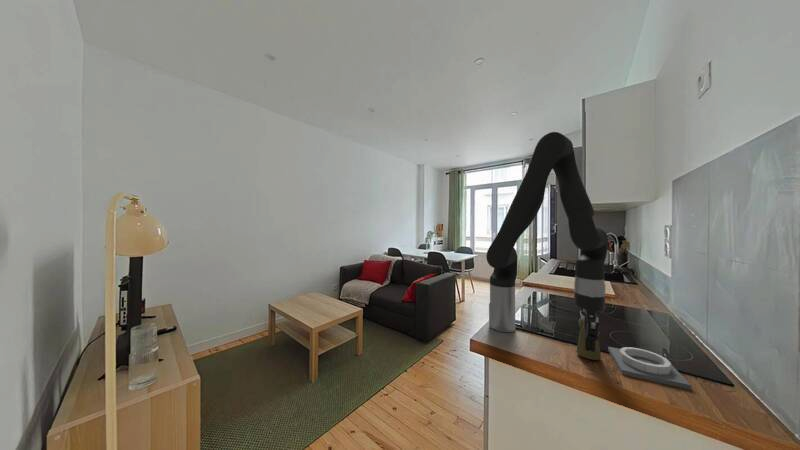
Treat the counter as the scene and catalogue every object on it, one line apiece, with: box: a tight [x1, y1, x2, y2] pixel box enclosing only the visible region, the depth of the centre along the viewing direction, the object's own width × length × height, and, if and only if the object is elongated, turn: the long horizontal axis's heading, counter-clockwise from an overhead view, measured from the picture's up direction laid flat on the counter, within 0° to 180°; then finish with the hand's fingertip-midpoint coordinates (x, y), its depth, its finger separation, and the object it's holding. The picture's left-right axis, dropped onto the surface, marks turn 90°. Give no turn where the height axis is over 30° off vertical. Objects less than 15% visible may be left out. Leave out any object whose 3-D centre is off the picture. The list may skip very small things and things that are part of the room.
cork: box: [576, 317, 602, 361], centre depth 74 cm, size 6×6×11 cm
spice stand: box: [607, 346, 692, 391], centre depth 69 cm, size 13×14×3 cm
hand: (588, 346), depth 74 cm, fingers closed on cork, 4 cm apart
